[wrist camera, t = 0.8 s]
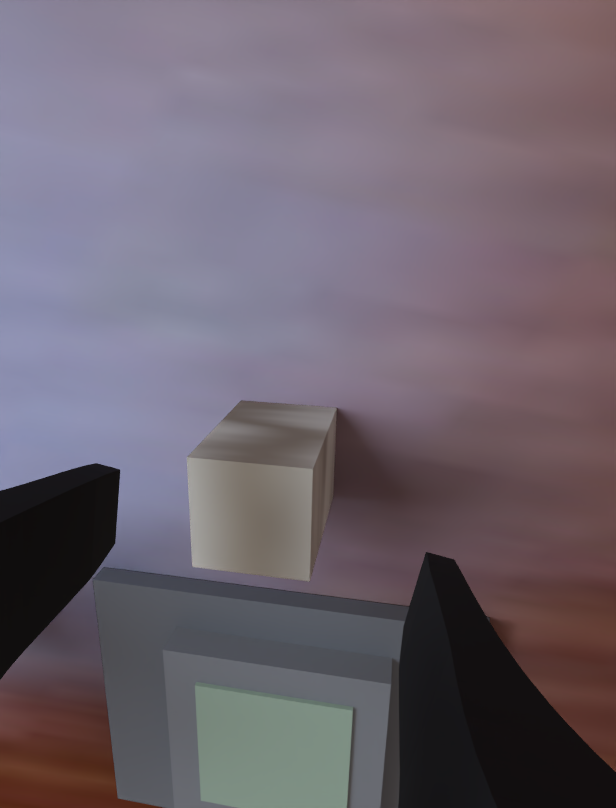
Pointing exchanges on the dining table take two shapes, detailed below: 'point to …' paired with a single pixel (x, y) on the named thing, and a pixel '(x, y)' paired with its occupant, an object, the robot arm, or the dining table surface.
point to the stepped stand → (249, 694)
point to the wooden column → (263, 489)
